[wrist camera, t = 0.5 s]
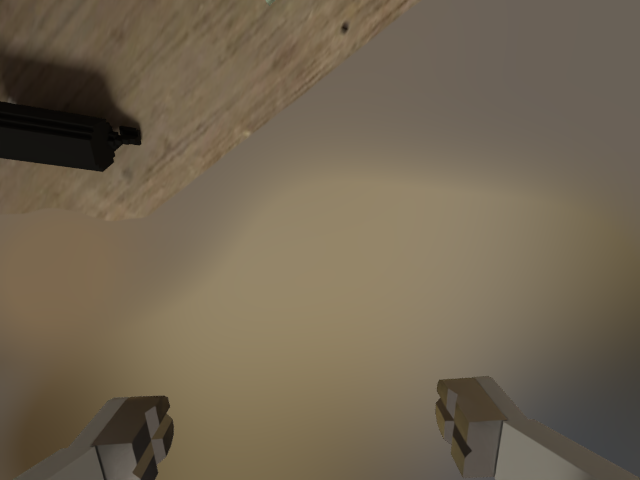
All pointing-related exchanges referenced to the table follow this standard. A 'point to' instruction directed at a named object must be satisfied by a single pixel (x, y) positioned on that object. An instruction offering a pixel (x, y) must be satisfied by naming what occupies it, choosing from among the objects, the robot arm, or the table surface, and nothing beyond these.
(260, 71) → the table surface
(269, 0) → the block
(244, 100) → the table surface
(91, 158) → the security camera
